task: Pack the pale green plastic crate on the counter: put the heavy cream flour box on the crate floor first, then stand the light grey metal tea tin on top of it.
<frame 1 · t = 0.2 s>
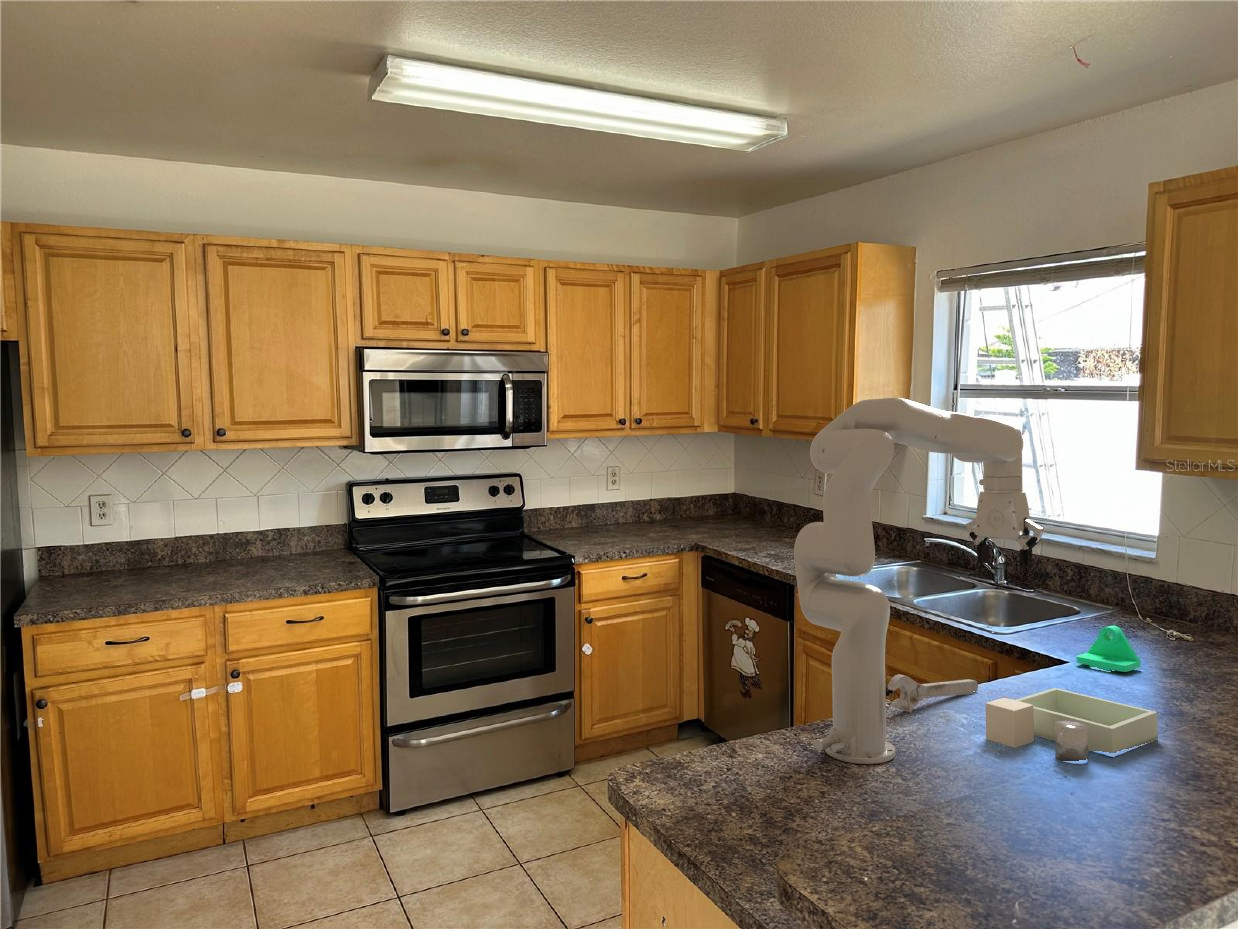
hand: (1004, 565, 180), 31 cm above the counter, tool pointing down, fingers open, 9 cm apart
crate: (1081, 733, 164), on the counter
tea tin: (1071, 759, 151), on the counter
flour box: (1009, 740, 162), on the counter
camera mount: (1107, 669, 210), on the counter
wrench: (935, 705, 185), on the counter
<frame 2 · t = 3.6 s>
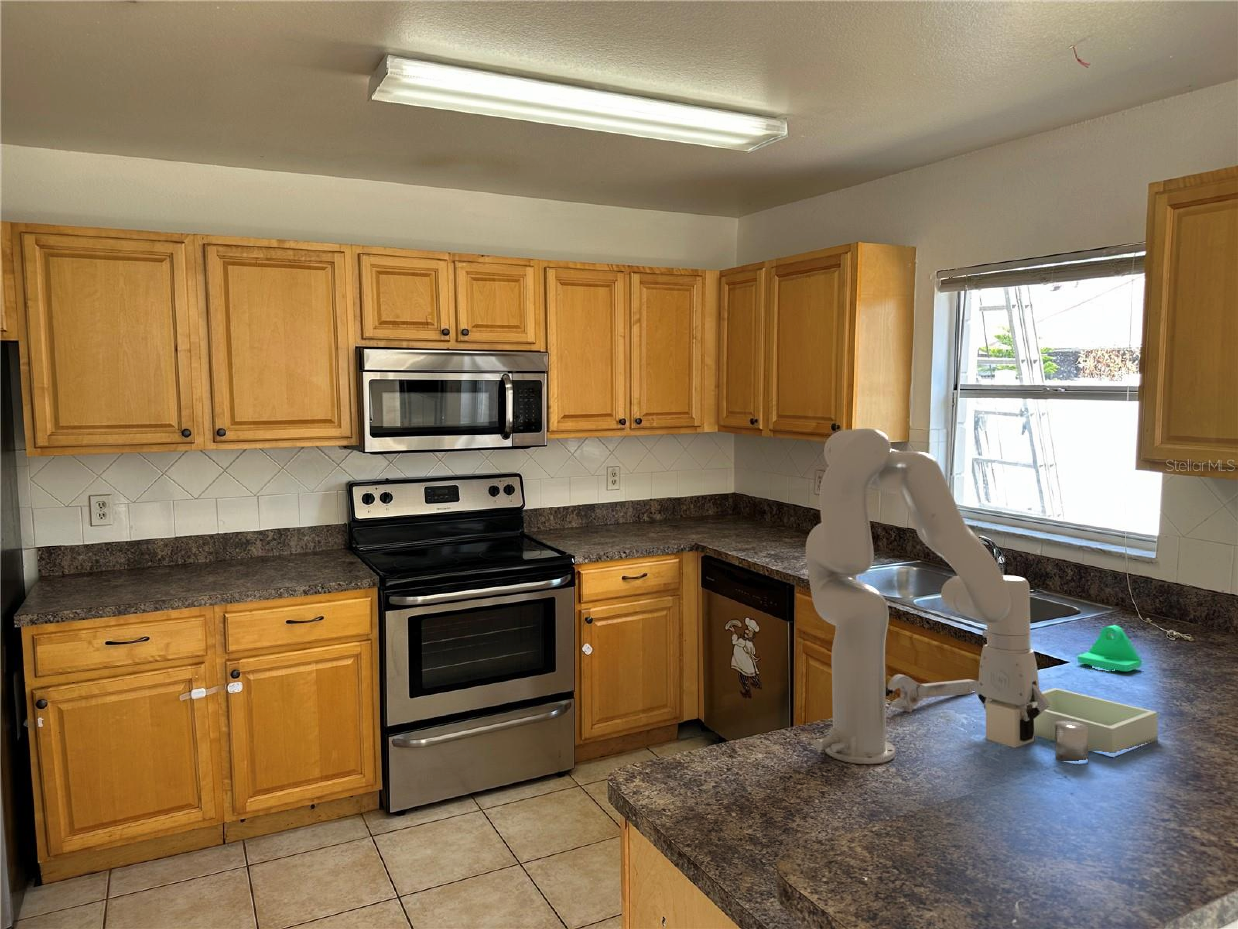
hand: (1010, 734, 162), 1 cm above the counter, tool pointing down, fingers closed on flour box, 6 cm apart
flour box: (1009, 740, 162), on the counter, touching gripper
when the fingers open (3 cm above the counter, at t = 9.0 s): flour box drops 1 cm, resting on crate.
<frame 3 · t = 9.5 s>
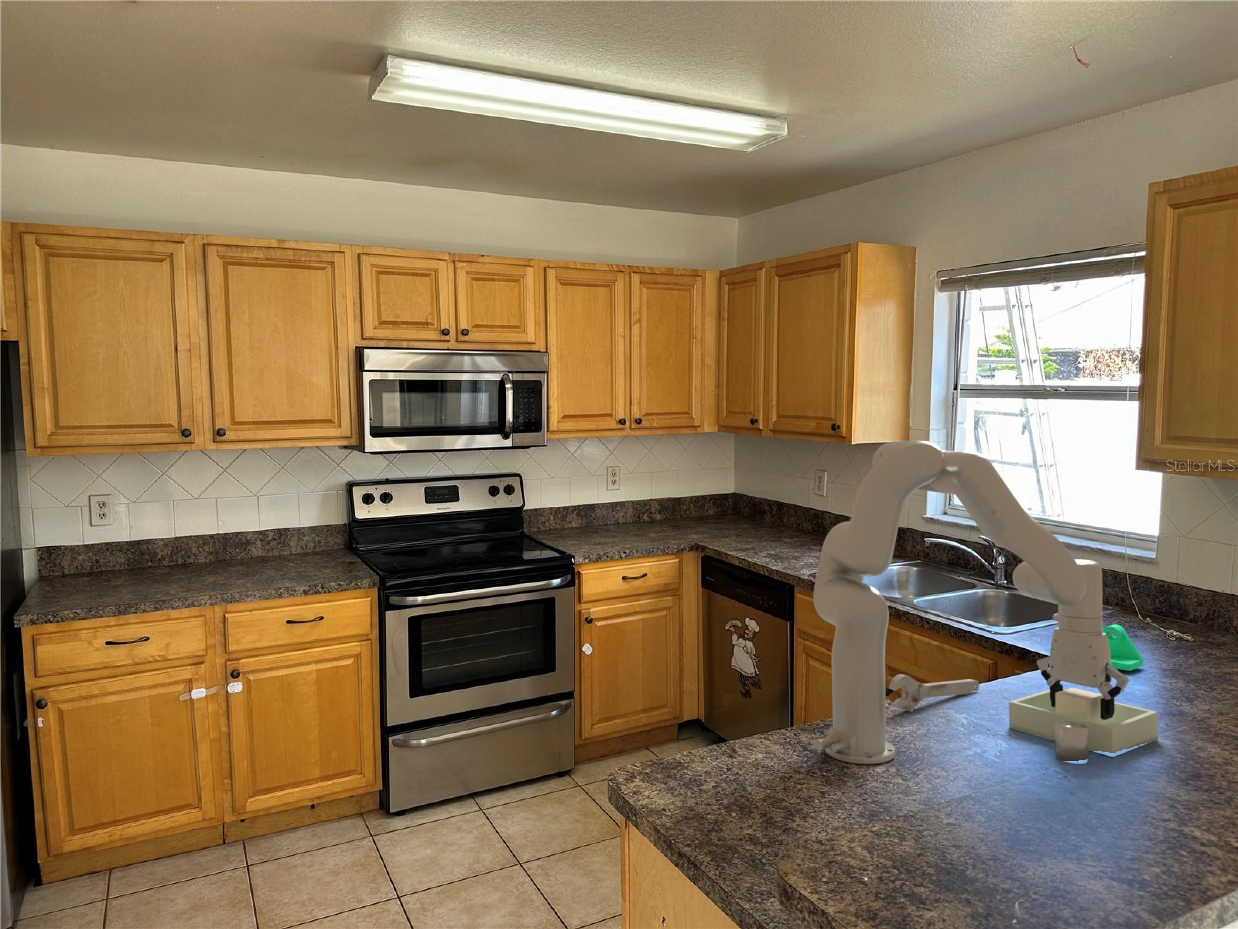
hand: (1081, 711, 164), 4 cm above the counter, tool pointing down, fingers open, 9 cm apart
flour box: (1079, 729, 164), point 1 cm above the counter, touching crate
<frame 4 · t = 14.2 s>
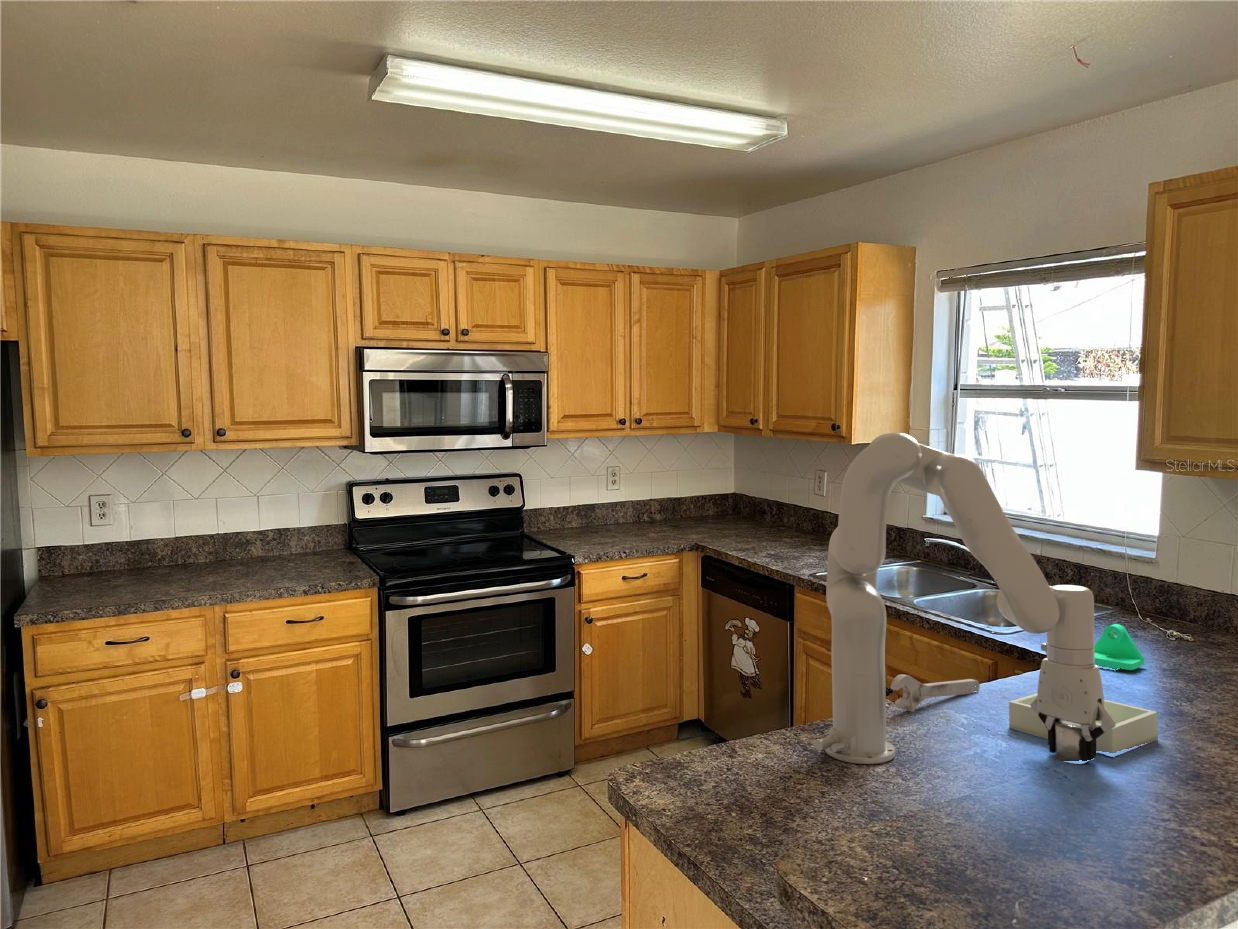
hand: (1071, 755, 151), 1 cm above the counter, tool pointing down, fingers closed on tea tin, 5 cm apart
tea tin: (1071, 758, 151), on the counter, touching gripper
when the fingers open (9 cm above the counter, at t = 18.9 s): tea tin stays where it is, resting on flour box.
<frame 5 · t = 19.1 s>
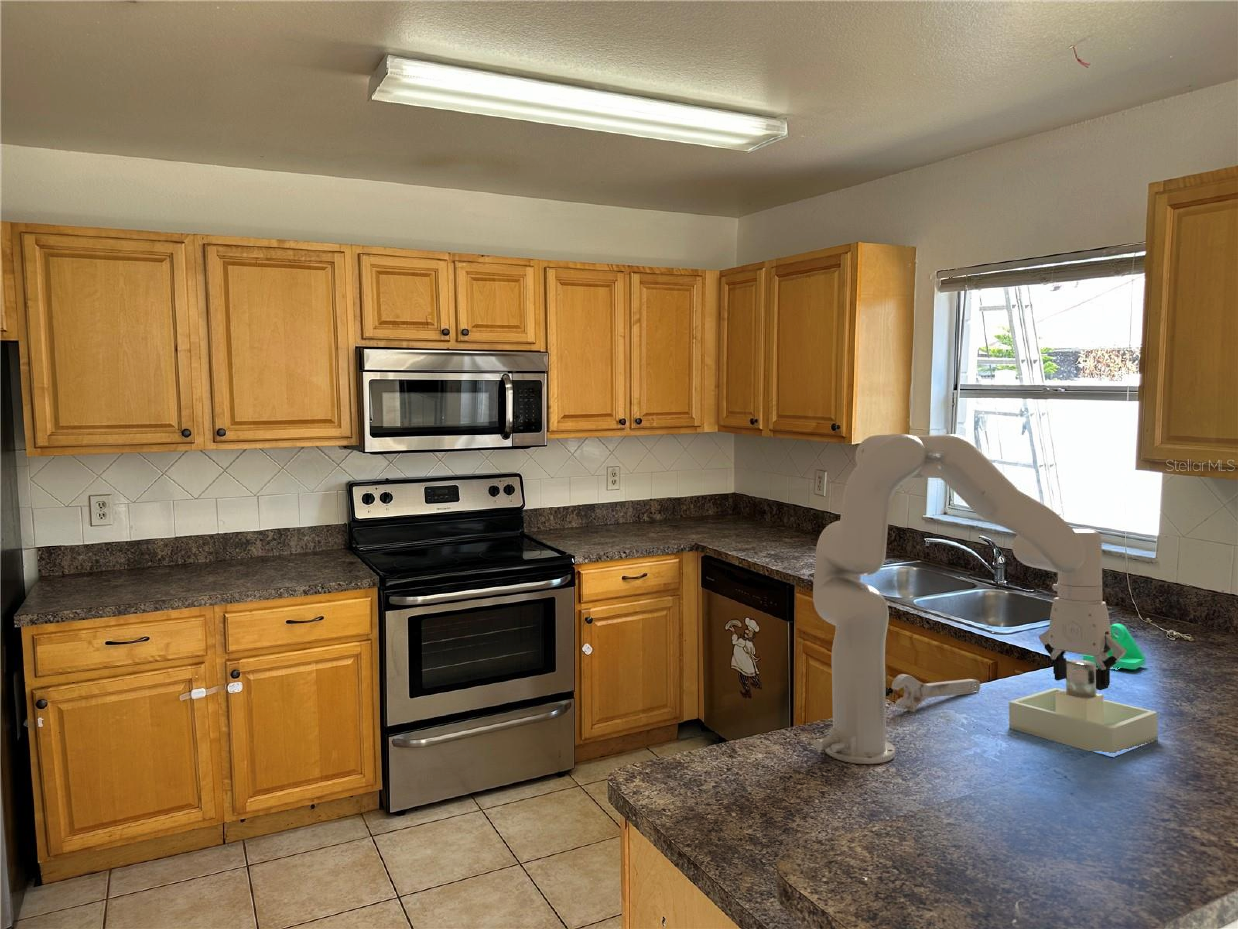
hand: (1081, 683, 164), 10 cm above the counter, tool pointing down, fingers open, 7 cm apart
tea tin: (1081, 693, 164), point 8 cm above the counter, touching flour box
flour box: (1079, 729, 164), point 1 cm above the counter, touching crate, tea tin
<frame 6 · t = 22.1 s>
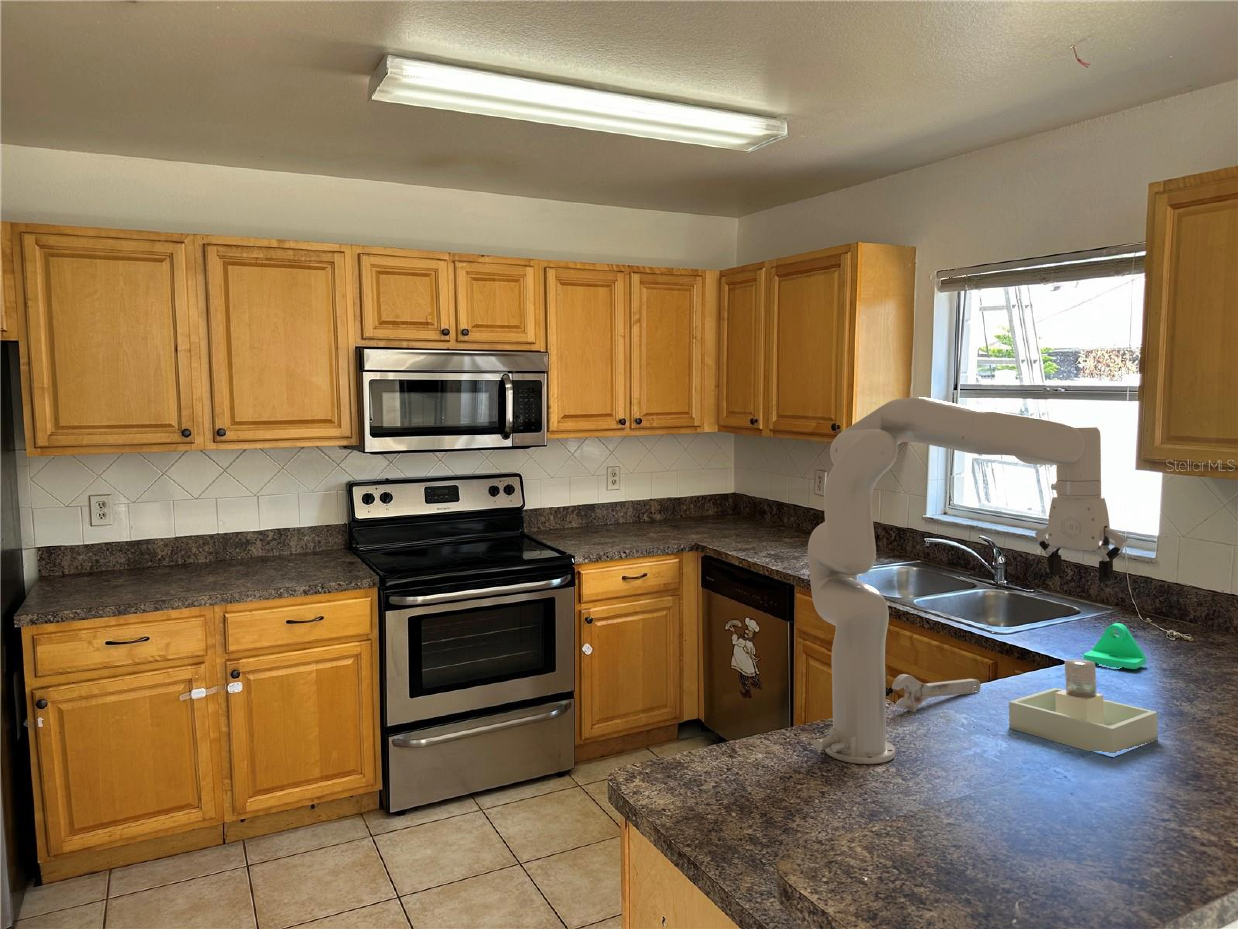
hand: (1079, 578, 163), 30 cm above the counter, tool pointing down, fingers open, 9 cm apart
at the end: flour box inside the target area on the crate (0.4 cm from its centre), point 0.8 cm above the crate's base; tea tin 0.4 cm off-centre on the flour box, point 7.1 cm above the flour box's base; tea tin tilted 2° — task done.
